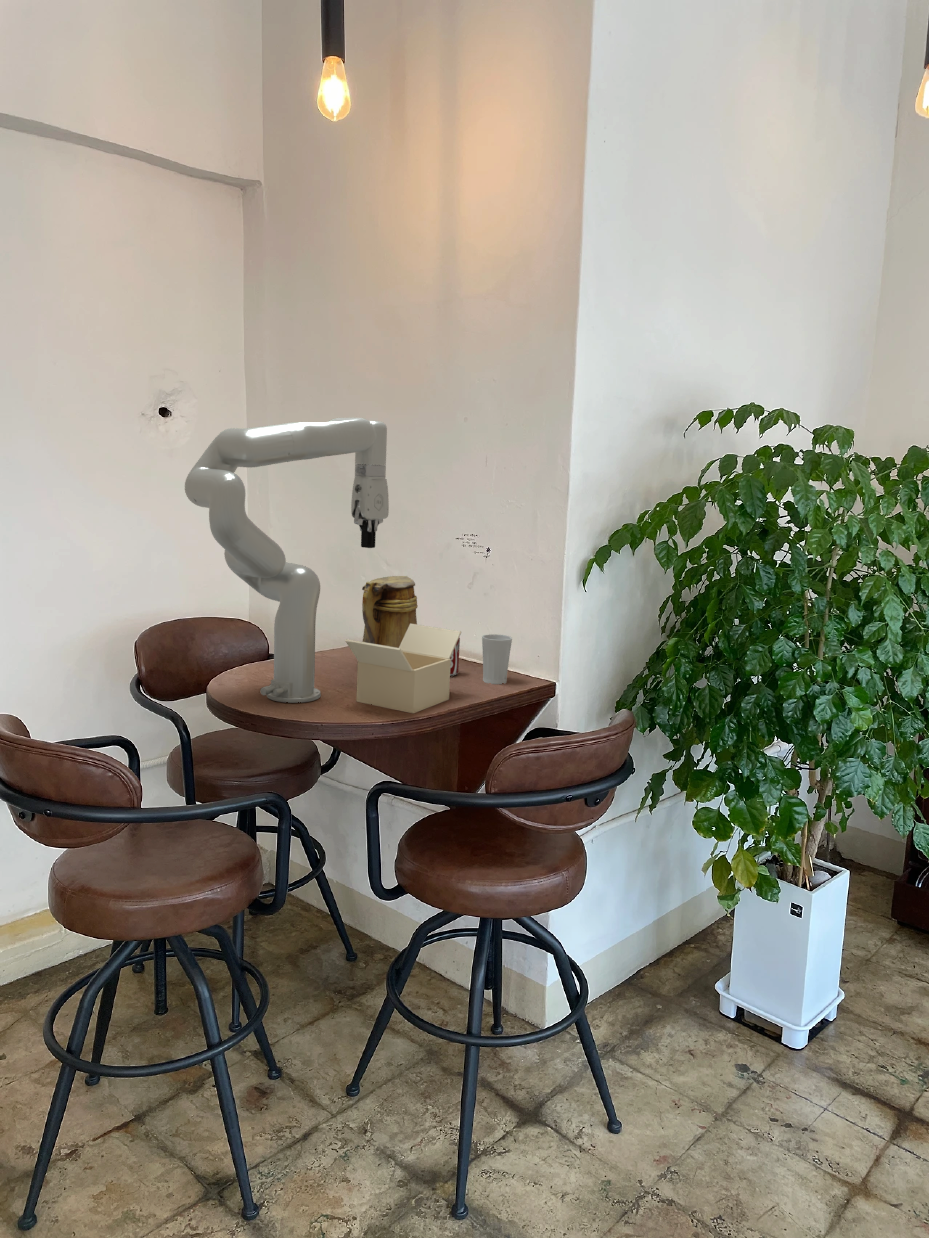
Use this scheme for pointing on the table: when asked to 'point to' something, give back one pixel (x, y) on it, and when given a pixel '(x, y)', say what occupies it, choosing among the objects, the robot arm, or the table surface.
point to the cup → (495, 658)
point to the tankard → (388, 610)
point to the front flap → (379, 655)
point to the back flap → (430, 641)
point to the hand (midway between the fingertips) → (368, 547)
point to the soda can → (455, 659)
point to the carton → (405, 683)
